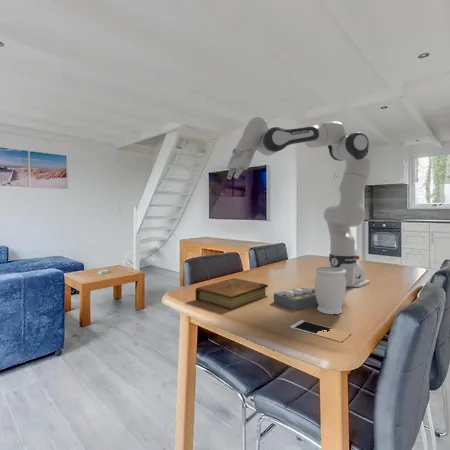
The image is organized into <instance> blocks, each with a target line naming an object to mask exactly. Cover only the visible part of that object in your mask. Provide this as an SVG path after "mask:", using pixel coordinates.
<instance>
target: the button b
mask: <svg viewBox="0 0 450 450" xmlns="http://www.w3.org/2000/svg"><path fill="white" fill-rule="evenodd" d="M303 288H304V293H307V294H311V293H312V291H313V287H312V286H311V287H310V286H304V287H303Z"/></svg>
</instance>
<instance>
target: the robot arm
mask: <svg viewBox="0 0 450 450" xmlns="http://www.w3.org/2000/svg"><path fill="white" fill-rule="evenodd" d="M345 131H346V129H345V127H344V124H342V122H340V121H335V120H334V121H330V120H329V121H321V122H316V123H313V124H310V125H307V126H305V127H299V128H290V129H289V128H288V129H287V128H283V127H279V126H274V127H271V128H270V126H269V125H268V121H267V120H266V119H265V118H262V117H253V118H251V119H250V120H249V121H248V122H247V125H246V126H245V128H244V129H243V132H242V136H241V138H240V139H239V141H238V142H237V145H236V146H235V147H234V148H233V150H232V151H231V157H230V159H229V161H228V163H227V167H226V168H227V170H228V174H227V176H226V178H227V179H228V180H232V178H234V179H237V180H238V179H239V177H240V176H241V175H242V173H243V172H244V171H247V170H248V169H249V168H250V166H251V163H252V161H253V158H254V156H255V154H256V152H257V151H258V152H259V153H261V154H262V155H263V156H265V157H266V156H272V155H274V154H276V153H278V152H280V151H282V150H284V149H285V148H287V147H288V146H289V145H296V144H302V143H304V144H305V145H306V146H307V147H309V148H321V147H326V146H327V149H328V152H329V155H330V158H331V159H333V160H335V161H340V162H341V161H345V170H344V172H343V176H342V178H341V182H340V185H339V187H338V191H339V193H340V202H339V203H334V204H332V205H330V206H328V207H327V208H325V210H324V213H323V218H324V220H325V221H326V224H327V227H328V231H329V238H330V252H329V256H328V258H329V259H328V261H329V263H328V264H327V267H335V268H341V269H344V270H346V274H345V275H344V276H345V280H346V288H348V287H352V288H353V287H354V288H360V287H363V286H365V285H367V284H370V283H371V280H370V279H368V278H366V273H365V270H364V269H363V268H362V267H361V266H360V264H358V263H357V261H359V260H360V258H361V256H360V255H356V254H355V250H356V249H355V248H356V247H355V246H356V244H355V243H356V240H355V237H354V236H353V234H352V231H351V228H354V227H357V226H360V225H362V224H363V223H364V221H365V220H366V211H365V209H364V206H363V196H364V192H365V187H366V185H367V180H368V178H369V175H370V169H371V160H370V158H369V157H368V156H367V155H368V153H369V146H370V145H369V144H370V142H369V139H368V136H367V135H366V134H365V133H364V132H359V131H358V132H352V133H349V134H347V133H346V132H345ZM233 174H234V175H233Z"/></svg>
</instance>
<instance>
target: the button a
mask: <svg viewBox="0 0 450 450" xmlns="http://www.w3.org/2000/svg"><path fill="white" fill-rule="evenodd" d="M291 290H292V289H290V290H288V289H287V290H285V291H286V295H285V297H288V298H292V297H294V291H291Z"/></svg>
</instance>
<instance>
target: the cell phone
mask: <svg viewBox="0 0 450 450" xmlns="http://www.w3.org/2000/svg"><path fill="white" fill-rule="evenodd" d="M289 328H291V329H293V330H297V331H301V332H303V331H304V332H303V333H307V332H308V333H307V334H310V333H312V334H311V335H313V334H314V333H315V334H316V333H317V332H318V331H322V330H327V332H328V331H330V330H329V329H331V328H332V327H330V326H325V325H322V324H318V323H314V322H310V321H307V320H302V319H301V320H299V321H297V322H296V323H294V324H292V325H290V326H289ZM323 332H324V331H323Z"/></svg>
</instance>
